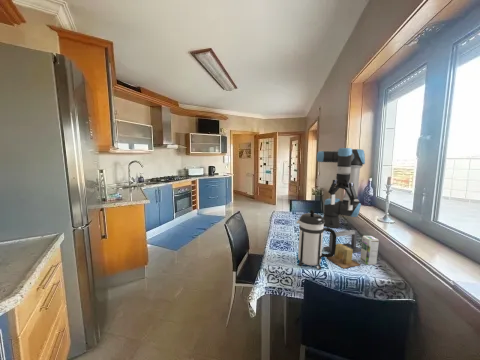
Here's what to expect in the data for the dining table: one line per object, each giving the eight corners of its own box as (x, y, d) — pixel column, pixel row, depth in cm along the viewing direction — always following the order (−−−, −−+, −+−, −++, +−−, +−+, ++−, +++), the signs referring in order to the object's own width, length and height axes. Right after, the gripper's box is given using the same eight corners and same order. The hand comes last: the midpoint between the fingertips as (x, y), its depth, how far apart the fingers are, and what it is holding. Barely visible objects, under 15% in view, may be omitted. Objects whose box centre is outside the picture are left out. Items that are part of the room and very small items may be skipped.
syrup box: (359, 259, 117) (361, 235, 115) (369, 259, 117) (371, 235, 115) (366, 265, 111) (369, 239, 109) (376, 264, 111) (379, 239, 110)
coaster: (342, 255, 122) (342, 254, 122) (360, 265, 111) (360, 264, 111) (326, 258, 118) (326, 257, 118) (343, 268, 107) (343, 267, 107)
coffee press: (309, 274, 101) (313, 215, 98) (289, 259, 116) (292, 207, 112) (335, 267, 108) (339, 212, 105) (313, 253, 123) (316, 205, 119)
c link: (340, 256, 119) (341, 243, 118) (351, 263, 111) (352, 249, 110) (334, 257, 117) (335, 244, 116) (346, 264, 110) (347, 250, 109)
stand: (348, 244, 136) (349, 227, 135) (361, 251, 127) (363, 233, 125) (323, 248, 130) (325, 230, 128) (336, 256, 120) (337, 236, 119)
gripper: (323, 171, 135) (321, 202, 138) (356, 176, 112) (353, 213, 115) (332, 171, 138) (330, 201, 141) (366, 175, 114) (363, 212, 118)
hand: (340, 207), depth 128 cm, fingers open, 13 cm apart
